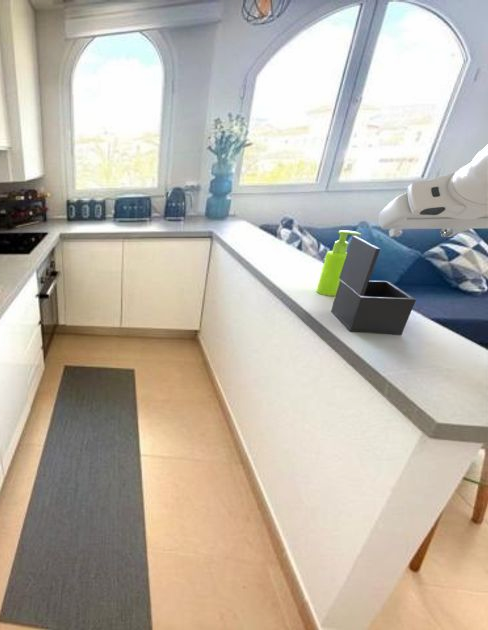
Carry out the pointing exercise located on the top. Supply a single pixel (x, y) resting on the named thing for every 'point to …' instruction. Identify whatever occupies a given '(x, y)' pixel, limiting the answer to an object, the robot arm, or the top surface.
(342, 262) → the soap dispenser
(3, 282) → the top surface
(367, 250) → the box lid
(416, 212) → the robot arm
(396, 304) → the grey box
